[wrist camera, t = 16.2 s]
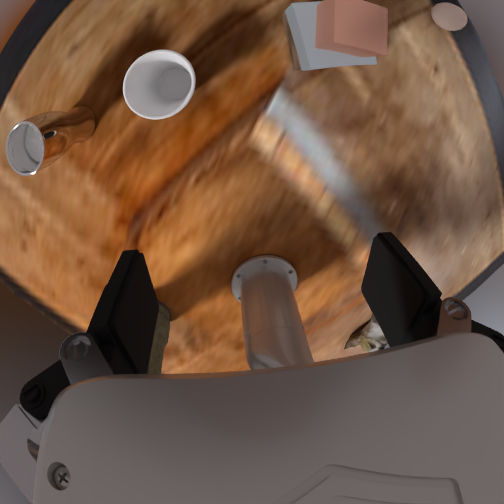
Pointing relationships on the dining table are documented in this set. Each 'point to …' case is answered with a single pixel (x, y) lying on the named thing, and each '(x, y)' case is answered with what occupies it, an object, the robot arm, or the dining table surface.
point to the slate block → (304, 39)
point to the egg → (449, 16)
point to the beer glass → (47, 138)
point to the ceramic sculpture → (368, 337)
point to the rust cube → (352, 27)
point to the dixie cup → (159, 84)
